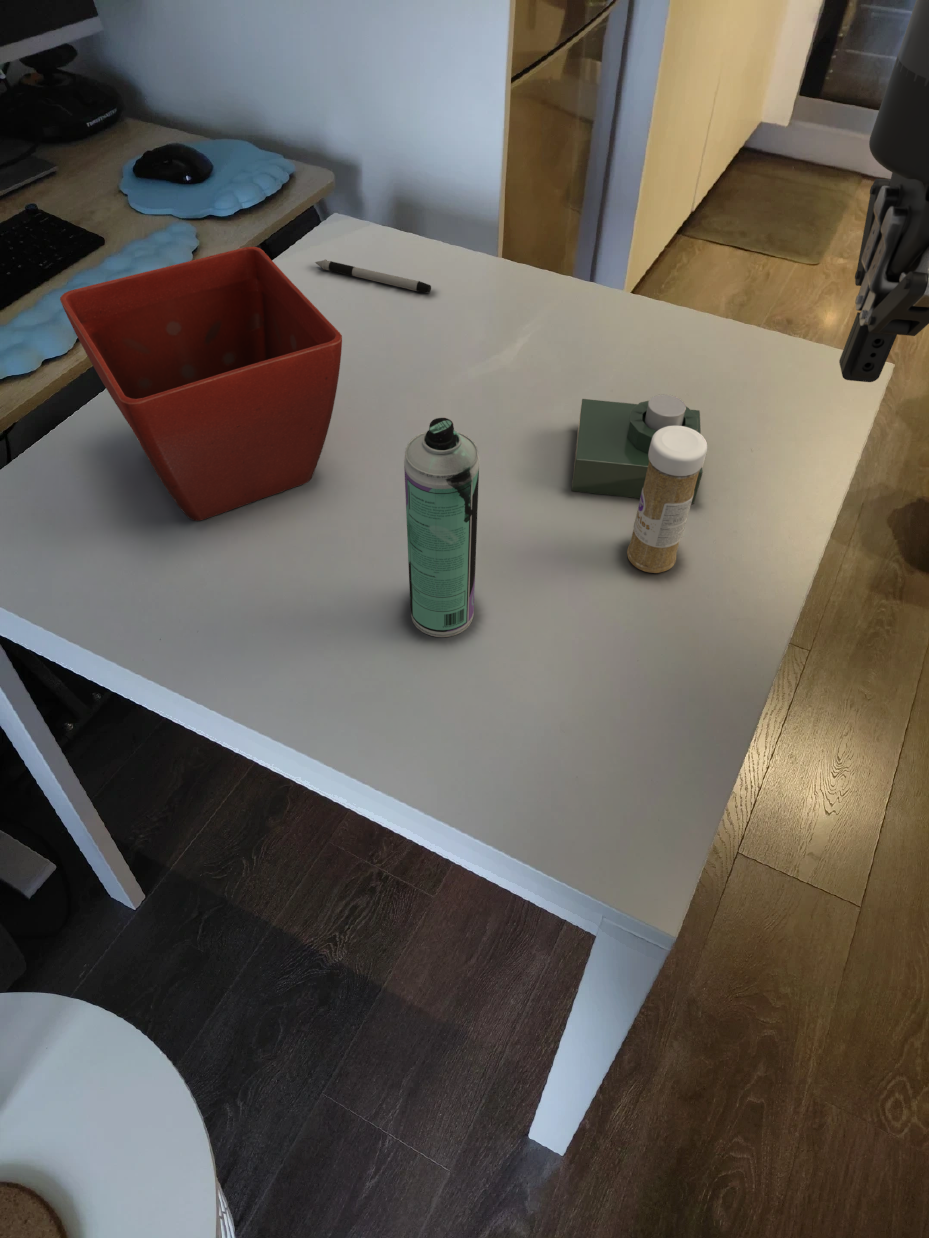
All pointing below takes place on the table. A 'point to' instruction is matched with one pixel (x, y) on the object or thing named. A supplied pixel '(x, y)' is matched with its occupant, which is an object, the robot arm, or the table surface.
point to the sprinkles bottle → (666, 497)
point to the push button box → (617, 447)
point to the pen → (375, 276)
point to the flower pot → (215, 374)
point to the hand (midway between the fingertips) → (856, 374)
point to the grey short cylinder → (664, 411)
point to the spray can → (441, 528)
